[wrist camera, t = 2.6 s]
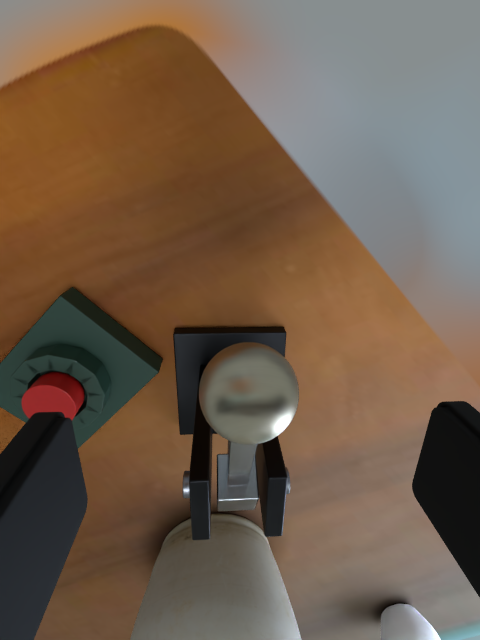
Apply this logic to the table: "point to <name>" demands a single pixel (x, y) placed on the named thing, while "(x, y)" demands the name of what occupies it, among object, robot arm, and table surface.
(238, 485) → the lever
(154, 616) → the jug
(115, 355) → the button box
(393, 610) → the plain white apple
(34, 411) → the button
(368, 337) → the table surface
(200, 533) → the bracket
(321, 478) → the table surface
